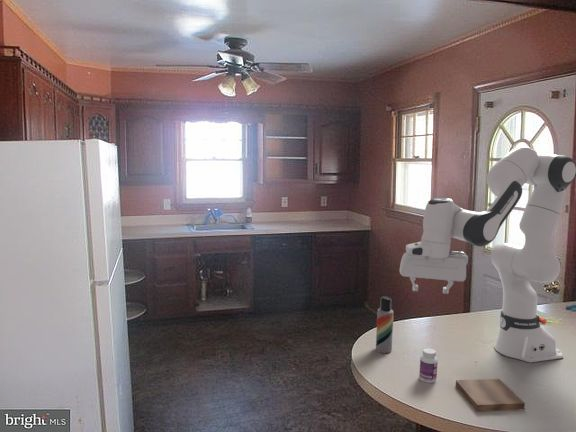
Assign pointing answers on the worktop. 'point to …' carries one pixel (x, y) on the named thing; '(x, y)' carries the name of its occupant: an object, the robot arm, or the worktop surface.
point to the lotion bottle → (384, 326)
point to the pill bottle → (428, 366)
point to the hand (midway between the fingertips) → (430, 291)
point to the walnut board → (489, 395)
